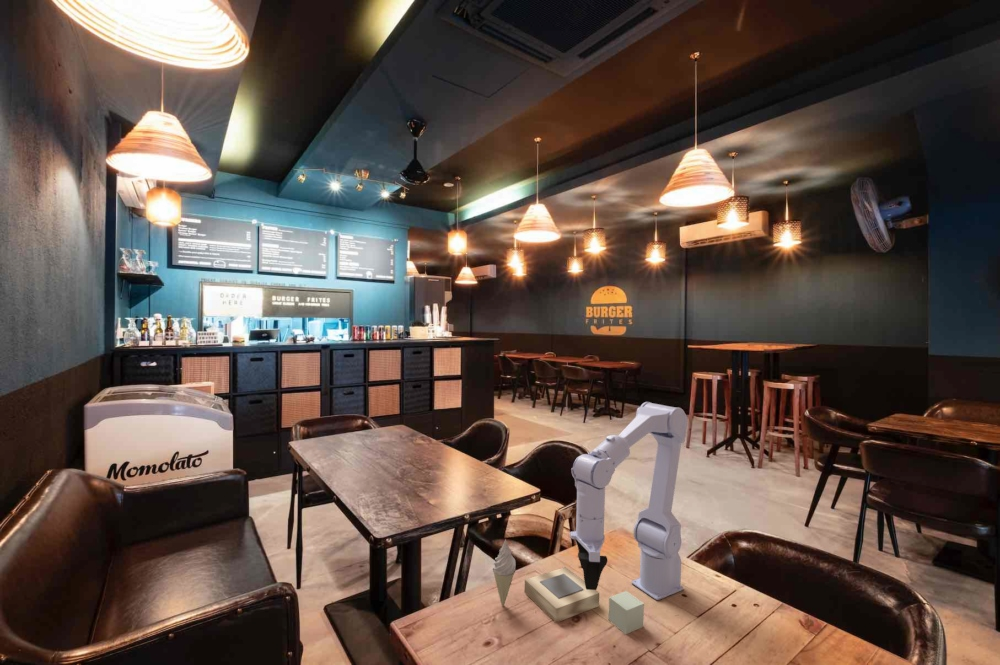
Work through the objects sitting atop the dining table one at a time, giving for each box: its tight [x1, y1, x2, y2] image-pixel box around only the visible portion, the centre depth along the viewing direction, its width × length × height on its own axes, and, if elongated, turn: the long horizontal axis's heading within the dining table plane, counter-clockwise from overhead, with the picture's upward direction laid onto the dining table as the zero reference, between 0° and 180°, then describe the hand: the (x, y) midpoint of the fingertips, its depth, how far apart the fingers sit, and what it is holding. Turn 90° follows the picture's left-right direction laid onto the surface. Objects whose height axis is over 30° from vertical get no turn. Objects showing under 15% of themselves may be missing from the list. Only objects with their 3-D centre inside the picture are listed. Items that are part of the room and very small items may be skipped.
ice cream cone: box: [492, 538, 517, 607], centre depth 99 cm, size 5×5×15 cm
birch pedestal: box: [523, 566, 600, 623], centre depth 103 cm, size 12×12×3 cm
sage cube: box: [608, 590, 645, 635], centre depth 95 cm, size 5×5×5 cm
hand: (588, 577), depth 94 cm, fingers open, 7 cm apart
